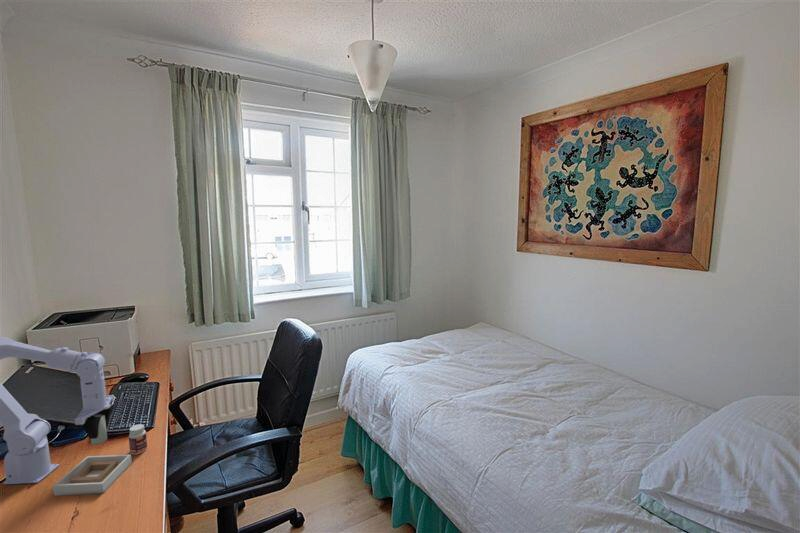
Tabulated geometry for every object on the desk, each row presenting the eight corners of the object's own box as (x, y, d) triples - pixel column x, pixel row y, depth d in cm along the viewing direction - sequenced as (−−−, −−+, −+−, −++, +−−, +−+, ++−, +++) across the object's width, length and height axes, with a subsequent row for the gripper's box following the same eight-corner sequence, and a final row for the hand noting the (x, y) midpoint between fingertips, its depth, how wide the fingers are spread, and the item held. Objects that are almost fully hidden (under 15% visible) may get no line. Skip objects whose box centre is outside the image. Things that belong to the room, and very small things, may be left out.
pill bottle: (138, 456, 123) (136, 432, 122) (126, 454, 124) (124, 430, 123) (151, 447, 128) (148, 424, 127) (139, 445, 129) (136, 422, 128)
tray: (54, 495, 106) (52, 486, 105) (87, 465, 119) (86, 456, 118) (103, 493, 107) (102, 483, 106) (131, 463, 120) (130, 454, 119)
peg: (87, 445, 117) (85, 421, 116) (97, 437, 121) (94, 414, 120) (101, 444, 117) (98, 420, 116) (110, 437, 121) (107, 413, 120)
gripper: (91, 404, 110) (96, 447, 112) (122, 381, 124) (126, 420, 126) (65, 405, 109) (70, 448, 111) (99, 382, 123) (103, 421, 125)
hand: (98, 433), depth 118 cm, fingers closed on peg, 4 cm apart
